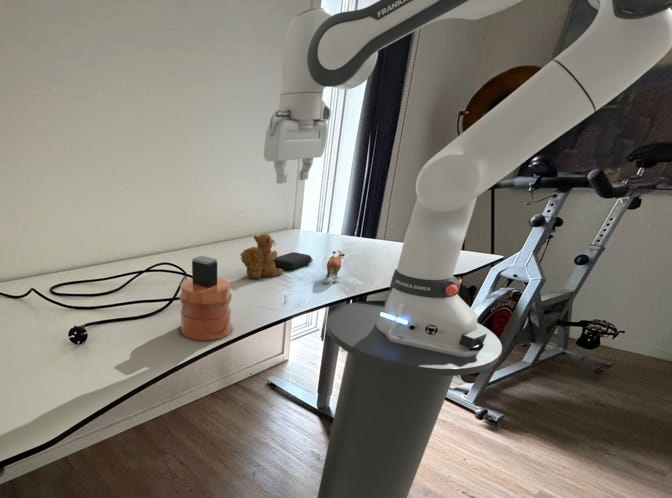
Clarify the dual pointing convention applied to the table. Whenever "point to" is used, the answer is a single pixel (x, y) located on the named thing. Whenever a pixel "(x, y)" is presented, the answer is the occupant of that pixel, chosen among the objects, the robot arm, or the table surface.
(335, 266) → the bull figurine
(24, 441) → the table surface
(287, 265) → the carrying case
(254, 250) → the stuffed squirrel
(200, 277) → the black block
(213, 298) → the orange short cylinder
